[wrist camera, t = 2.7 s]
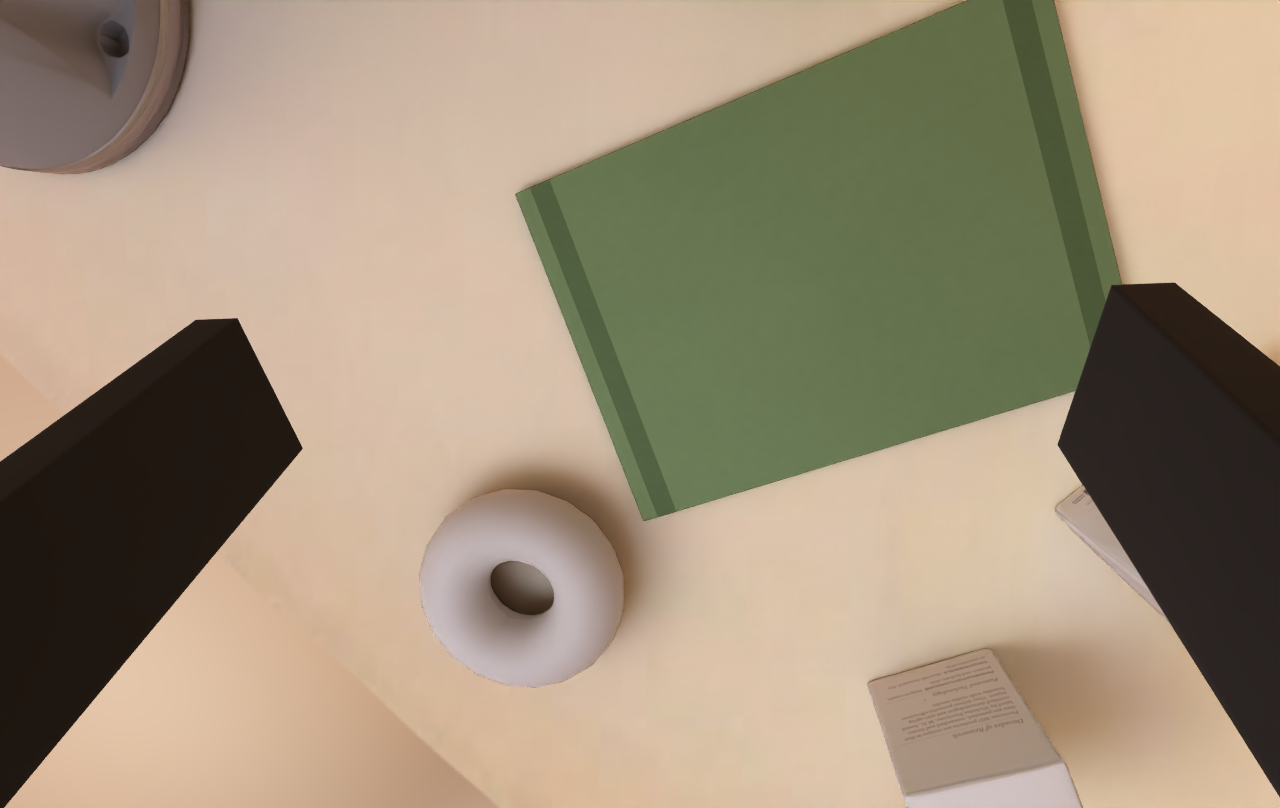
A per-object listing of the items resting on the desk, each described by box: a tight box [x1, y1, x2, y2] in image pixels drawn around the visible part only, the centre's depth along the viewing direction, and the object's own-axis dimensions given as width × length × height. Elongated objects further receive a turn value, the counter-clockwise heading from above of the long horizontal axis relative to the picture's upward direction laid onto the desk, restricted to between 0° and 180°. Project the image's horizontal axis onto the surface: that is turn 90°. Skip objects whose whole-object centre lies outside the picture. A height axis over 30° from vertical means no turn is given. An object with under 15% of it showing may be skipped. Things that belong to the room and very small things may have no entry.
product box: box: [868, 649, 1083, 808], centre depth 28 cm, size 6×6×7 cm
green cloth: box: [516, 0, 1122, 521], centre depth 28 cm, size 16×22×1 cm
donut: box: [419, 489, 624, 688], centre depth 32 cm, size 10×4×10 cm
